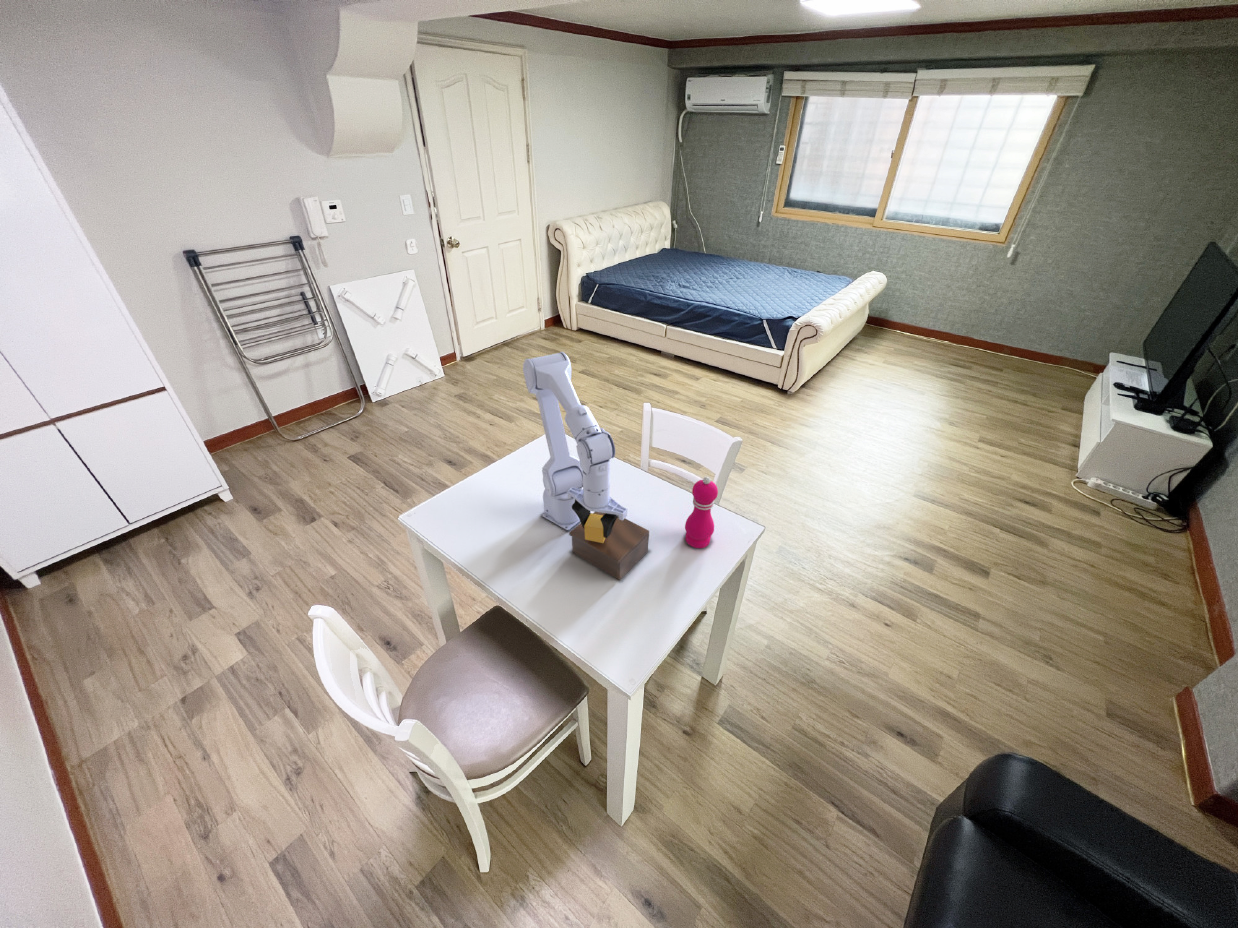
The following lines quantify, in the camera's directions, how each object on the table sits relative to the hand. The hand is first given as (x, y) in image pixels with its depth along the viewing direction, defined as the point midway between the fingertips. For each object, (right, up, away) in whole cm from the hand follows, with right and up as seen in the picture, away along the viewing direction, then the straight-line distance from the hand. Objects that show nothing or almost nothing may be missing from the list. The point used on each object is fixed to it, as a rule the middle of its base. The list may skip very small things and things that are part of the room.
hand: (597, 530), depth 112 cm
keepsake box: (+3, -6, +8) cm, 11 cm away
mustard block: (0, -1, +1) cm, 1 cm away
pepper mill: (+25, -4, +12) cm, 28 cm away
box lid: (+3, -1, +4) cm, 5 cm away
